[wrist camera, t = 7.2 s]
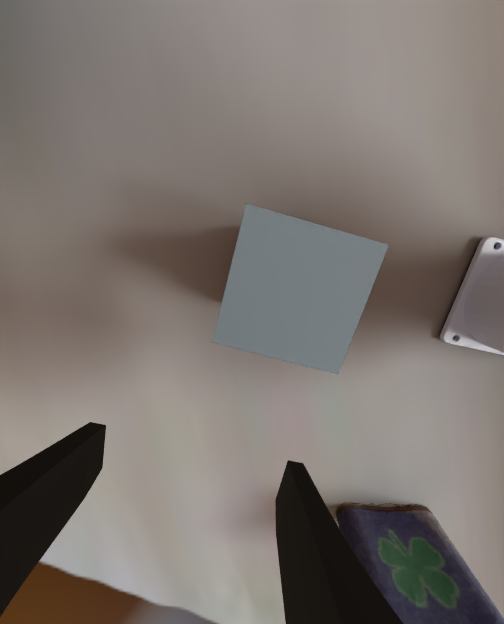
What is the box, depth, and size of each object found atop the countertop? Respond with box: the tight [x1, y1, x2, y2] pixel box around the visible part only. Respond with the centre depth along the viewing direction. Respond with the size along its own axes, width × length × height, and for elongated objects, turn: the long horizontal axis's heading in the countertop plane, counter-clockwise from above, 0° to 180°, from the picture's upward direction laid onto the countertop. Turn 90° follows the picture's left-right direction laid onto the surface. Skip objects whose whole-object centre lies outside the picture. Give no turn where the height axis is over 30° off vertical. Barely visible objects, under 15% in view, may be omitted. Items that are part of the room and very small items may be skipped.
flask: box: [336, 503, 504, 624], centre depth 18 cm, size 9×3×11 cm, turn 89°
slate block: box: [212, 203, 389, 374], centre depth 11 cm, size 5×5×5 cm
